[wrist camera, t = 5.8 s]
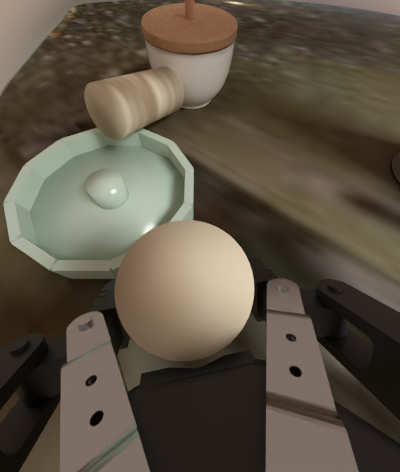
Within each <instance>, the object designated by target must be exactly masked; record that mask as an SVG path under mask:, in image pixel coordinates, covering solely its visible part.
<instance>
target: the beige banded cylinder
mask: <svg viewBox="0 0 400 472" xmlns="http://www.w3.org/2000/svg"><path fill="white" fill-rule="evenodd" d="M84 97H85V103H86V107H87V110H88V112H89V115H90V117H91V119H92V120H93V122H94V123H95V125H96V126H97V128H98V129H99V130H100V131H101V132H102V133H103V134H104V135H106V136H107V137H108V138H110V139H113V140H119V139H121V138H123V137H125V136H127V135H129V134H131V133H133V132H135V131H137V130H139V129H141V128H143V127H145V126H147V125H149V124H151V123H153V122H155V121H158V120H160V119H162V118H164V117H166V116H168V115H170V114H172V113H174V112H176V111H178V110H179V109H180V108H181V106H182V104H183V102H184V87H183V83H182V81H181V78H180V77H179V75H178V74H177V72H176V71H175V70H173V69H171V68H169V67H159V68H155V69H150V70H145V71H141V72H136V73H131V74H127V75H122V76H118V77H113V78H108V79H104V80H99V81H95V82H90V83H88V84H87V86H86V88H85V92H84Z"/></svg>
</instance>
